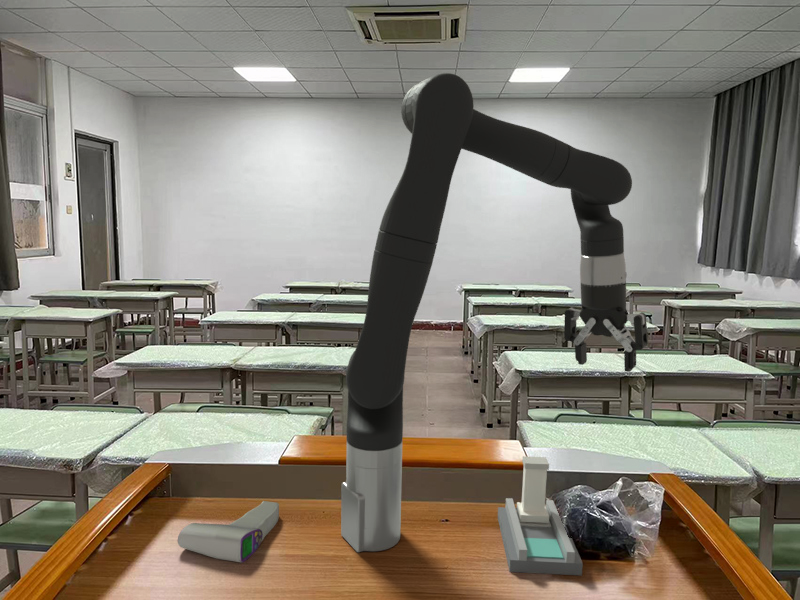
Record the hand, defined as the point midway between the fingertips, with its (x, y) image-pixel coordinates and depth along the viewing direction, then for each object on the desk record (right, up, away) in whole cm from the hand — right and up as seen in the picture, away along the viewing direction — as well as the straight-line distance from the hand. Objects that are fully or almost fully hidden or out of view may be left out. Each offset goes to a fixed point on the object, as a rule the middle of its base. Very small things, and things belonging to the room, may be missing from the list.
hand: (605, 366), depth 104 cm
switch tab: (-14, -26, -4) cm, 29 cm away
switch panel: (-14, -29, -8) cm, 33 cm away
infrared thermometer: (-65, -28, -7) cm, 71 cm away
